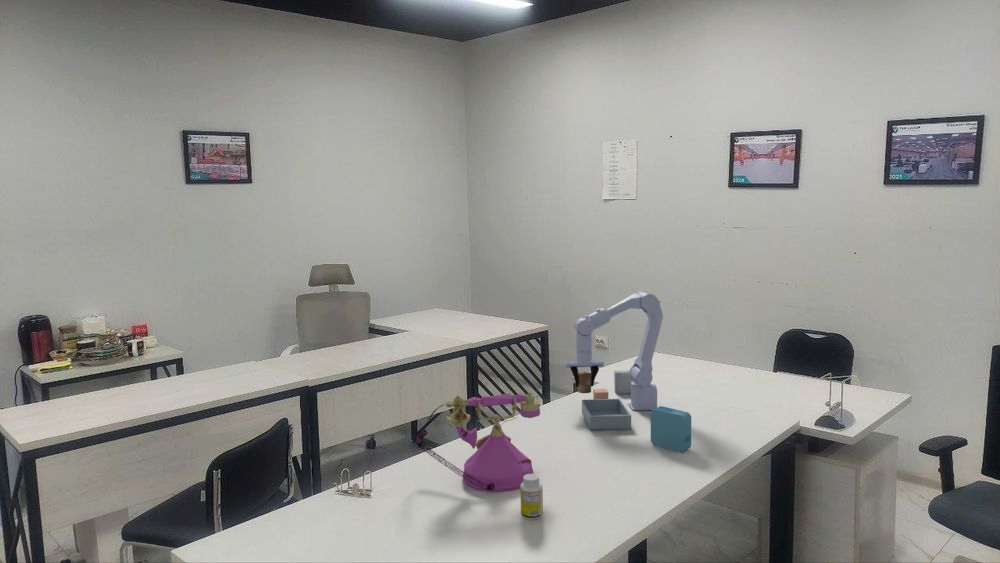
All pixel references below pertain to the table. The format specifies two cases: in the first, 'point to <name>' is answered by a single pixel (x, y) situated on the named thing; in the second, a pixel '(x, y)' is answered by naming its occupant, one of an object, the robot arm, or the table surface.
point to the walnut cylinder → (584, 382)
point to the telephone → (490, 444)
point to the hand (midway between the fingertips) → (584, 385)
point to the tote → (606, 415)
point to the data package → (671, 429)
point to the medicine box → (622, 381)
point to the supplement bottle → (531, 497)
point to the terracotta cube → (600, 394)
